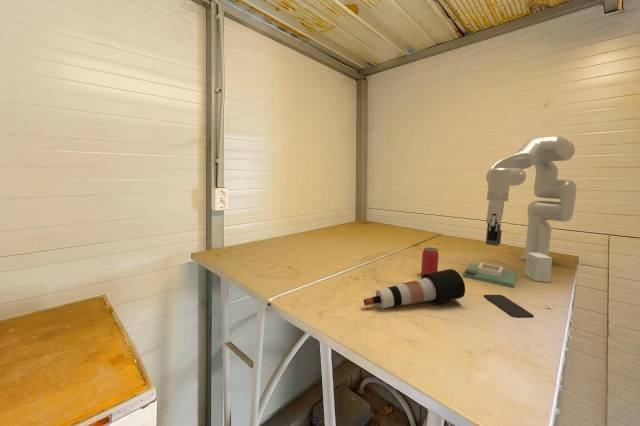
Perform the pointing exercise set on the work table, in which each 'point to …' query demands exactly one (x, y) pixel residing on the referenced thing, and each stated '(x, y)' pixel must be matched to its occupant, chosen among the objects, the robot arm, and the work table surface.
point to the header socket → (490, 270)
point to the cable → (421, 290)
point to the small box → (538, 266)
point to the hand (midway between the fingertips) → (492, 238)
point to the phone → (508, 306)
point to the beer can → (429, 261)
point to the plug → (496, 243)
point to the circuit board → (505, 279)
